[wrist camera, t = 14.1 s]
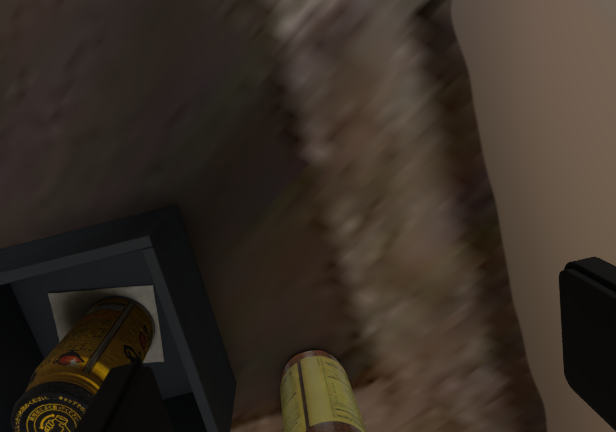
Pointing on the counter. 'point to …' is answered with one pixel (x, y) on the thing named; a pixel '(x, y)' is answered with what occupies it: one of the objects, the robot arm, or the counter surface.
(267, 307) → the counter surface
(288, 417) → the sauce bottle
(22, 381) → the dark grey open box
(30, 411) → the condiment
